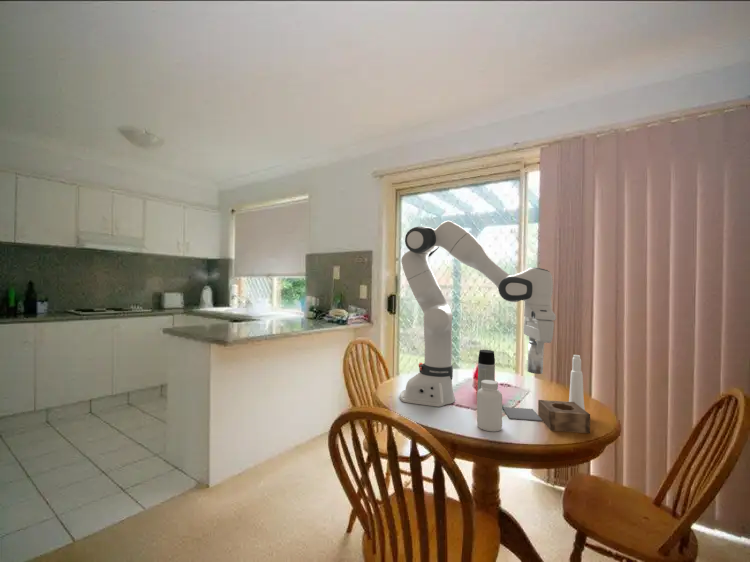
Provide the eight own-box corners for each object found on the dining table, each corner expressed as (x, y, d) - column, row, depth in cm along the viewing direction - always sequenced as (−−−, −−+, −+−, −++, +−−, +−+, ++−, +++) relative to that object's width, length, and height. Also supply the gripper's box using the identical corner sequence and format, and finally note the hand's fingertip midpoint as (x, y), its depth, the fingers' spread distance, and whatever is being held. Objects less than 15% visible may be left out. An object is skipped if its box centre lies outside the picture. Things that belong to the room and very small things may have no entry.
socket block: (550, 430, 111) (550, 411, 111) (538, 416, 123) (538, 399, 123) (590, 433, 109) (590, 414, 109) (573, 418, 121) (573, 402, 121)
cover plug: (529, 373, 120) (531, 342, 120) (525, 369, 125) (527, 340, 125) (544, 374, 119) (546, 343, 119) (539, 370, 124) (541, 341, 124)
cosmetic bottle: (570, 410, 129) (570, 352, 129) (588, 415, 124) (588, 355, 125) (564, 414, 125) (564, 354, 125) (582, 419, 120) (583, 357, 120)
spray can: (494, 397, 143) (494, 350, 143) (494, 402, 136) (495, 353, 137) (477, 395, 145) (478, 348, 145) (477, 400, 138) (477, 351, 139)
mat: (509, 418, 120) (509, 417, 120) (502, 407, 131) (502, 406, 131) (542, 421, 118) (542, 420, 118) (532, 409, 129) (532, 408, 129)
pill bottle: (477, 420, 118) (478, 377, 118) (502, 424, 115) (503, 380, 115) (475, 429, 110) (476, 383, 111) (501, 434, 107) (502, 386, 107)
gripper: (520, 310, 132) (518, 345, 132) (537, 314, 112) (535, 356, 112) (537, 311, 132) (535, 346, 132) (558, 315, 111) (555, 357, 111)
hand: (535, 351), depth 122 cm, fingers closed on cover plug, 5 cm apart
